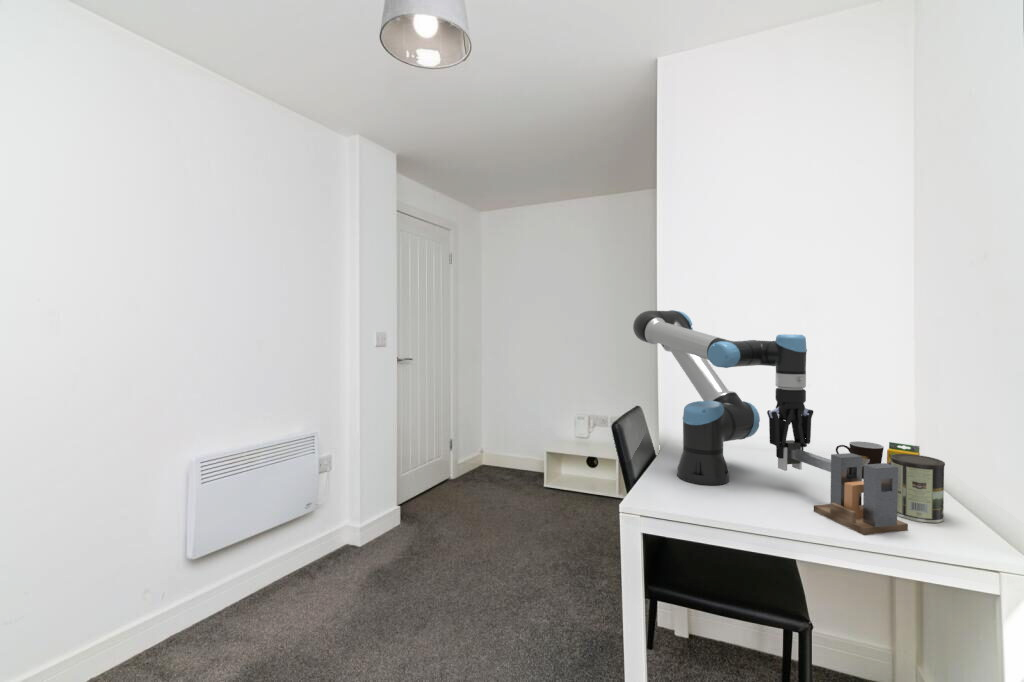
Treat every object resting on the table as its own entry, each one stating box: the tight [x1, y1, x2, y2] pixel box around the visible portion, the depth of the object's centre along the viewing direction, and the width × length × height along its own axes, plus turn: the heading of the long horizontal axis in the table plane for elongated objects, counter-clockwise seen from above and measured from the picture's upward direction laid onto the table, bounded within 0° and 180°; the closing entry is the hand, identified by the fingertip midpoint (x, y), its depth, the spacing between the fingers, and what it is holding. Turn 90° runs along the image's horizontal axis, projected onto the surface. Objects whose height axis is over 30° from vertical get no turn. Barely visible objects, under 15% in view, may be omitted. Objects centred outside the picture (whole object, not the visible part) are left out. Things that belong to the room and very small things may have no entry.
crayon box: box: [886, 441, 921, 465], centre depth 141 cm, size 7×3×12 cm, turn 43°
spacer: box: [844, 480, 864, 518], centre depth 114 cm, size 2×8×8 cm, turn 103°
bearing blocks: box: [829, 452, 898, 527], centre depth 114 cm, size 12×6×14 cm, turn 11°
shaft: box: [780, 439, 849, 475], centre depth 128 cm, size 20×4×6 cm, turn 11°
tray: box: [813, 503, 909, 536], centre depth 115 cm, size 14×12×4 cm
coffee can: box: [891, 454, 946, 524], centre depth 118 cm, size 10×10×14 cm
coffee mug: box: [835, 440, 885, 480], centre depth 149 cm, size 12×9×10 cm
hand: (789, 468), depth 136 cm, fingers closed on shaft, 4 cm apart
